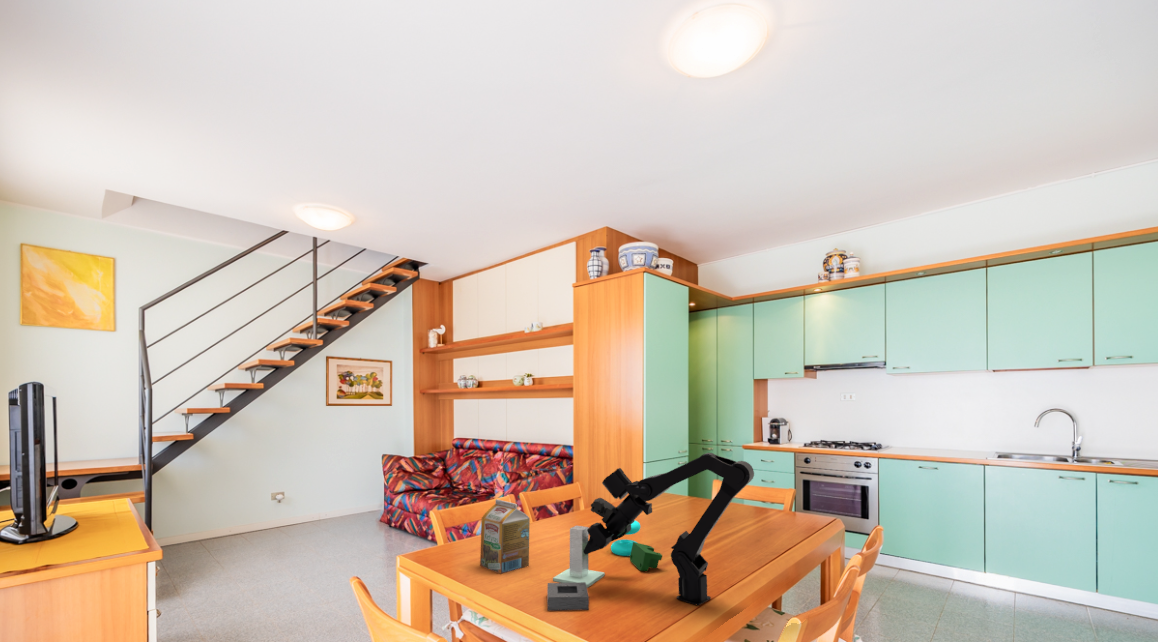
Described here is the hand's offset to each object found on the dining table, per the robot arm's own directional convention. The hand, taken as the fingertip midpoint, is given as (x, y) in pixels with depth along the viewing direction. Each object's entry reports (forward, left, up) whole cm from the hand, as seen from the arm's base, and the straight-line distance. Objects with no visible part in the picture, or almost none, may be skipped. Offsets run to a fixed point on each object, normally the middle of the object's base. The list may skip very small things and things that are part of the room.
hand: (591, 548), depth 150 cm
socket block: (-6, +16, -8) cm, 19 cm away
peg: (+4, +1, -8) cm, 9 cm away
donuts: (+10, -28, -9) cm, 31 cm away
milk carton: (+28, +9, -9) cm, 31 cm away
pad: (+4, +1, -8) cm, 9 cm away
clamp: (-4, -21, -9) cm, 23 cm away
